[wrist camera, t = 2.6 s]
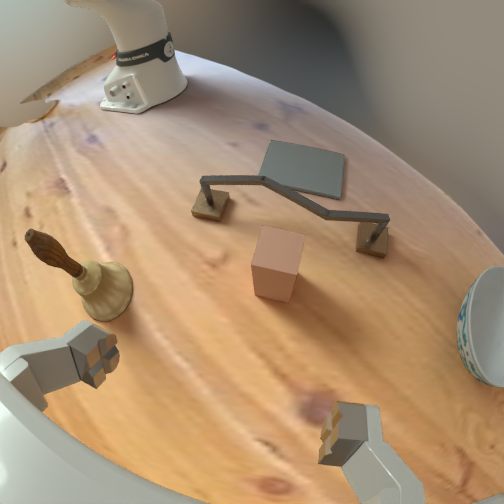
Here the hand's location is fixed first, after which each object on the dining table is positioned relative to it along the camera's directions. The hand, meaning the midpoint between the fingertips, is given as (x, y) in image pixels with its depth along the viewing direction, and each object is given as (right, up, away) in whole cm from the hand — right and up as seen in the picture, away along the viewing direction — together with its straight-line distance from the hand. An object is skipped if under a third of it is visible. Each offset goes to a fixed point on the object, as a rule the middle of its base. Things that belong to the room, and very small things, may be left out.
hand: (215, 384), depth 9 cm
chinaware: (+31, -7, +19) cm, 37 cm away
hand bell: (-18, -1, +24) cm, 30 cm away
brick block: (+4, +1, +24) cm, 24 cm away
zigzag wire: (+6, +8, +27) cm, 29 cm away
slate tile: (+9, +17, +31) cm, 37 cm away
